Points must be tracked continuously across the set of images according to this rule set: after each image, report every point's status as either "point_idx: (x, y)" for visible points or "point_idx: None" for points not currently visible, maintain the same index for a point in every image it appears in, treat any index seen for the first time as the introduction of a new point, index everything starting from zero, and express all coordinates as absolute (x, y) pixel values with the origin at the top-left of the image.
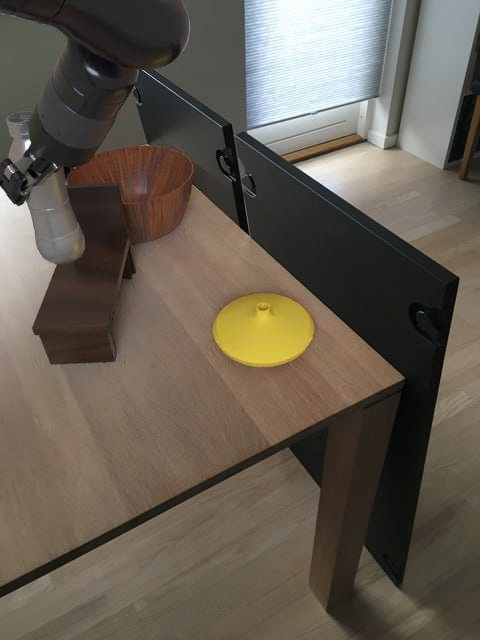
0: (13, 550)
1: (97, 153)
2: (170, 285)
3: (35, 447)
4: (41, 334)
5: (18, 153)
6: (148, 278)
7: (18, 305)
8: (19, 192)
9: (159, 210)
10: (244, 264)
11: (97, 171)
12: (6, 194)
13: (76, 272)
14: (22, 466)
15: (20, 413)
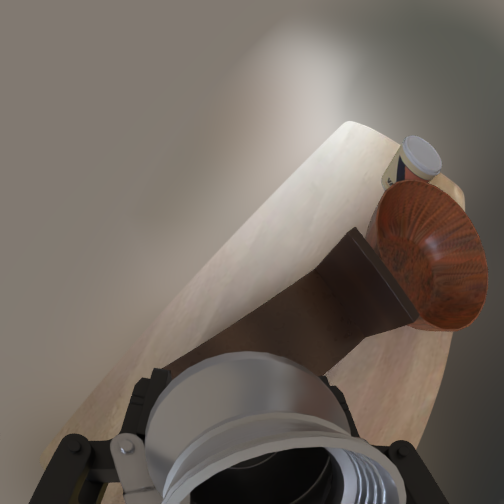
0: (44, 457)
1: (432, 178)
2: (345, 393)
3: (96, 427)
4: None
5: (162, 484)
6: (341, 362)
7: (222, 266)
8: (104, 489)
9: (421, 327)
10: (407, 424)
11: (419, 196)
12: (135, 385)
13: (271, 339)
14: (79, 428)
15: (111, 390)
